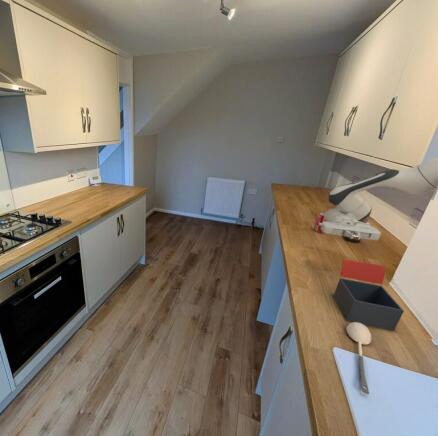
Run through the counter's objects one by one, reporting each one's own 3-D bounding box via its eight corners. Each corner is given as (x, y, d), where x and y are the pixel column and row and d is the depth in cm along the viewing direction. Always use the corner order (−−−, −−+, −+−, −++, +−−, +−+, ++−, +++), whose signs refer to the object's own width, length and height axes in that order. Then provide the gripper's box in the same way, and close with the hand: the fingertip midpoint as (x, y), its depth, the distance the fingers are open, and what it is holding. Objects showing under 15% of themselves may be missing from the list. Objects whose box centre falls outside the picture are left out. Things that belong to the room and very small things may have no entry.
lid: (340, 276, 92) (340, 276, 92) (382, 284, 87) (381, 284, 88) (343, 259, 91) (343, 259, 92) (385, 266, 87) (385, 265, 88)
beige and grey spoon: (348, 314, 81) (344, 325, 82) (355, 372, 59) (349, 386, 60) (372, 322, 77) (367, 334, 79) (389, 387, 55) (381, 402, 57)
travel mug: (341, 238, 146) (351, 208, 139) (348, 236, 149) (359, 206, 142) (355, 243, 140) (367, 211, 133) (362, 241, 143) (374, 210, 136)
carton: (333, 295, 95) (339, 278, 92) (373, 304, 91) (381, 285, 88) (346, 320, 83) (354, 300, 80) (393, 331, 79) (404, 310, 76)
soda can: (327, 231, 156) (333, 214, 152) (323, 234, 152) (328, 216, 148) (315, 228, 161) (320, 211, 157) (311, 230, 158) (315, 213, 153)
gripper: (319, 216, 112) (328, 226, 100) (373, 222, 105) (389, 234, 93) (315, 228, 114) (324, 240, 102) (368, 235, 107) (383, 249, 95)
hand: (356, 237), depth 97 cm, fingers closed
